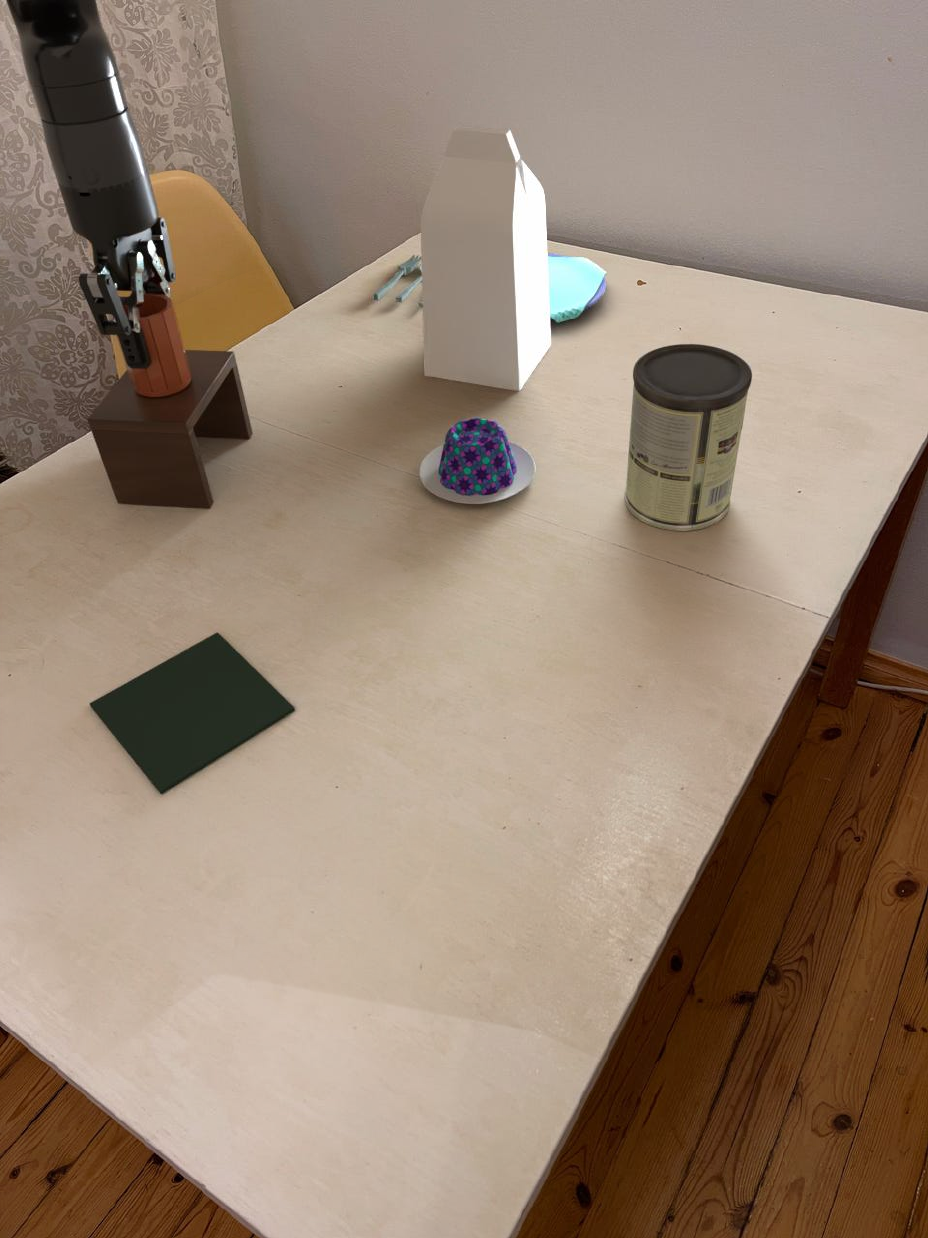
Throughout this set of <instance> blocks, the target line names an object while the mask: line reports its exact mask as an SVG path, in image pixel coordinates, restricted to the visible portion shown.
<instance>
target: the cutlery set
mask: <svg viewBox="0 0 928 1238" xmlns="http://www.w3.org/2000/svg"><path fill="white" fill-rule="evenodd" d="M547 259H548V283H549V307H550V320H554V321H555V322H556V323H561V322H564V321H568V320H575V319H576V318H579V317H580V316H581V314H582V313H583V311H584V310H586V309H588V308H590V307H592V306H594V305H595V304H596V303H597V302H598V301H599V300H601V298H602V297H604V295H605V292H606V287H607V284H608V281H607V280H606V277H605V276H607V271H605V270H604V269H603V268H602V267H600V266H599V265H598V264H596V263H595V262H593V261H592V260H590V259H588V258H586V257H581V256H580V257H579V256H577V257H576V256H575V257H574V256H568V255H563V254H558V253H552V252H551V253H550V252H547ZM420 262H421V263H420ZM419 263H420V265H419V267H418V269H419V271H420V272H421V274H422V261H421V256H420V255H415V254H413V255H412V256H411V257H410V258H408V259H407V260H406V261H405V262H403V263H402V264H400V265H399V264H398V265H397V269H398V270H397V272H396V273H395V274H394V275H393V276H392V278H391V279H390V280H388V281H387V282H386V283H385V284H384V285H383V286H381V287H379V289H377V291H375V292H374V293H373V295H372V297H373V301H380V300H381V298H382V297H384V295H385V294H387V292H389V291H390V290H391V289H393V287H394V286H395V285H396V284H397V282H398V281H399V280H400V278H401V277H402V276H407V275H409V274H412V272H413V271H414V269H416V267H417V266H418V264H419ZM421 282H422V275H420V276H418V277H417V278H416V279H415V280H414V281H412V282H411V283H410V284H408V286H407V287H405V289H403V290H402V291H401V292H400V293H399V294H398V295H397V296H396V297H395V301H396V303H403V302H404V301H405V299H406V298H407V297H408V295H409V294H410V293H411V292H412V291H413V290H414V289H415V288H416V286H418V285H419V284H420V283H421ZM417 305H418V308H419V309H423V299H422V300H421V301H420V302H418V304H417Z"/></svg>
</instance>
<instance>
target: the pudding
mask: <svg viewBox="0 0 928 1238" xmlns="http://www.w3.org/2000/svg"><path fill="white" fill-rule="evenodd" d="M536 469H537V466H536V462H535V460H534V458H533V456H532V455H531V453H530V452H529V451H528V450H527V449H525V448H524V447H522V446H521V445H519V444H517V443H516V442H513V441H510V440H509V438H508V435H507V432H506V431H505V430H504V428H503V427H502V426H500V425H499V423H498V422H497V421H495V420H492V419H489V418H488V419H484V418H482V417H471V418H469V419H462V420H459V421H458V422H456V423H454V425H453V426H452V427H450V428H449V429H448V430H447V432H446V434H445V436H444V442H443V444H441V445H439V446H437V447H436V448H434V449H432V450H431V451H430V452H429V453H427V455H426V456H424V458H423V459H422V461H421V463H420V465H419V469H418V476H419V479H420V482H421V483H422V485H423V486H424V487H425V489H426V490H428V491H429V492H430V493H432V494H433V495H435V496H437V497H438V498H441V499H443V500H446V501H450V502H453V503H459V504H468V505H480V504H481V505H482V504H490V503H495V502H499V501H502V500H503V501H504V500H506V499H509V498H511V497H513V496H515V495H517V494H519V493H520V492H522V491H524V489H526V488H527V487H528V486H529V485H531V482H532V481H533V480H534V477H535V475H536V471H537V470H536Z"/></svg>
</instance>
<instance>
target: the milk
mask: <svg viewBox="0 0 928 1238" xmlns="http://www.w3.org/2000/svg"><path fill="white" fill-rule="evenodd" d="M545 196H546V195H545V192H544V188H543V186H542V184H541V183H540V181H539V180H538V178H537V177H536V176H535V174H534V173H533V172H532V171H531V169H530V168H529V167H528V166H527V164H526V163H525V162H524V161H523V159H522V158H521V154H520V151H519V149H518V147H517V144H516V141H515V138H514V136H513V133H512V130H511V129H506V128H505V129H504V128H503V129H502V128H490V127H479V126H464V125H457V126H455V128H453V129H452V131H451V134H450V137H449V140H448V142H447V145H446V149H445V151H444V157H443V158H442V159H441V161H440V165H439V167H438V169H437V172H436V174H435V177H434V179H433V182H432V184H431V187H430V189H429V191H428V195H427V198H426V199H425V202H424V204H423V208H422V212H421V216H420V257H421V261H420V262H421V263H422V273H421V276H422V280H421V288H422V289H421V293H422V297H421V298H422V300H423V308H422V330H423V333H422V334H423V367H424V369H423V370H424V372H423V373H424V376H425V377H431V378H437V379H444V380H449V381H456V382H461V383H468V384H473V385H480V386H486V387H491V388H497V389H498V388H499V389H504V390H510V391H516V392H520V391H521V390H522V389H523V387H524V386H525V384H526V382H527V381H528V380H529V378H530V377H531V375H532V374H533V373H534V371H535V370H536V368H537V366H538V365H539V364H540V362H541V360H542V359H543V358H544V356H545V355H546V354H547V352H548V351H549V349H550V347H551V346H552V337H551V336H552V335H551V319H550V307H549V283H548V259H547V253H548V240H547V239H548V237H547V235H548V234H547V215H546V214H547V213H546V198H545Z"/></svg>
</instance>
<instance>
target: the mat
mask: <svg viewBox="0 0 928 1238" xmlns="http://www.w3.org/2000/svg"><path fill="white" fill-rule="evenodd" d="M89 706H90V708H91V709H92V710H93V711H94V713H95V714H96V715H97V716H98V718H99V719H100V720H101V721H102V723H103V724H104V726H105V727H106V729H108V730H109V732H110V733H111V734H112V736H114V738H115V739H116V740H117V741H118V743H119V744H120V745H121V746H122V748H123V749H124V750H125V751H126V752H127V754H128V755H129V756H130V758H131V759H132V760H133V762H134V763H135V764H136V765H137V766H138V768H139V769H140V770H141V771H142V773H143V774H144V775H145V777H146V778H147V779H148V780H149V781H150V783H151V785H153V786H154V788H155V789H156V791H158V793H159V794H160V795H163V794H164V793H166V792H168V791H169V790H171V789H173V788H174V787H175V786H177V785H179V784H180V783H182V782H184V781H185V780H187V779H188V778H190V777H193V775H195V774H196V773H198V772H200V771H202V770H203V769H205V768H206V767H208V766H210V765H211V764H212V763H214V762H215V761H217V760H219V759H220V758H222V757H224V756H225V755H227V754H228V753H230V752H232V751H233V750H235V749H237V748H238V747H240V746H241V745H243V744H244V743H246V742H247V741H249V740H251V739H252V738H254V737H256V736H257V735H259V734H261V733H262V732H264V731H265V730H267V729H268V728H270V727H272V726H273V725H275V724H276V723H278V722H280V721H281V720H283V719H284V718H287V717H288V716H289V715H291V714H292V713H294V712H296V708H295V706H294V705H293V704H291V703H290V701H288V699H286V698H285V696H284V695H282V694H281V693H280V692H279V691H278V690H277V689H276V688H275V687H274V685H272V684H271V683H270V682H269V681H268V680H267V679H266V678H265V677H264V676H263V675H262V673H260V672H259V671H258V670H257V669H256V668H255V667H254V666H253V665H252V664H251V663H250V662H249V661H248V660H246V658H245V657H244V656H242V654H240V652H238V651H237V650H236V648H235V647H233V646H232V644H231V643H230V642H228V640H227V639H225V638H224V637H223V636H222V635H221V634H220V633H219V632H218V631H217V632H215V633H213V634H211V635H209V636H208V637H206V638H204V639H202V640H200V641H199V642H196V643H194V644H193V645H192V646H189V647H188V648H187V649H184V650H182V651H181V652H179V653H177V654H176V655H174V656H172V657H170V658H168V659H166V660H164V661H163V662H161V663H160V664H157V665H155V666H154V667H152V668H151V669H149V670H147V671H145V672H143V673H141V674H140V675H138V676H136V677H134V678H133V679H130V680H129V681H127V682H125V683H123V684H121V685H120V686H118V687H116V688H115V689H112V690H110V691H109V692H107V693H106V694H103V695H101V696H100V697H98V698H96V699H95V700H93V701H91V702H90V703H89Z"/></svg>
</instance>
